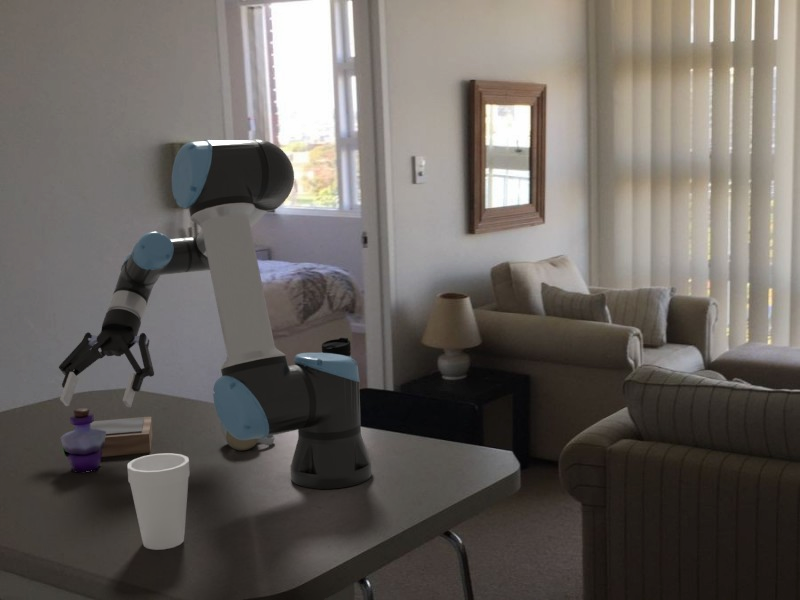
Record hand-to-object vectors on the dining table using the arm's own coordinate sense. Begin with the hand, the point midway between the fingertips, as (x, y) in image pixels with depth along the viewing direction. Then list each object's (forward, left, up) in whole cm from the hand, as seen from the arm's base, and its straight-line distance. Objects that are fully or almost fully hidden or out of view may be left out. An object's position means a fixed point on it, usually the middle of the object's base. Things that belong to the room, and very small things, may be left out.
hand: (95, 403), depth 201 cm
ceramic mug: (-1, -30, -12) cm, 32 cm away
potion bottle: (-7, +2, -11) cm, 13 cm away
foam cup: (-50, -14, -11) cm, 53 cm away
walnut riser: (+7, -3, -11) cm, 14 cm away
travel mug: (+4, -50, -11) cm, 51 cm away
